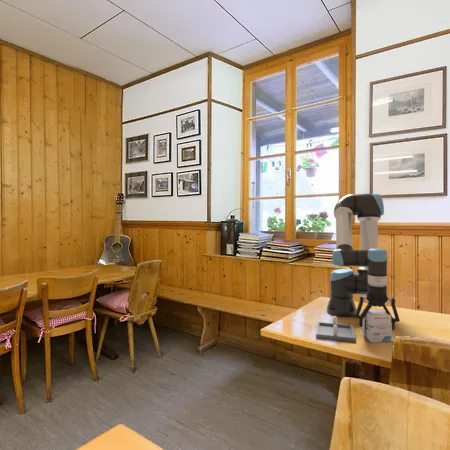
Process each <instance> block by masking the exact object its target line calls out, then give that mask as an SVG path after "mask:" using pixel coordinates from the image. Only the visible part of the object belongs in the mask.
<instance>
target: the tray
mask: <svg viewBox="0 0 450 450" xmlns="http://www.w3.org/2000/svg"><path fill="white" fill-rule="evenodd" d="M337 317H338V316H337V315H333V316H332V322H327V321H326V322H324V321H323V322H322V321H317V322H316V333H315V337H316V339H320V340H321V339H323V340H330V341H331V340H332V341H333V340H334V341H341V342H350V343H351V342H352V343H356V334H355V330H354V325H353V324H349V323H348V324H347V323H338V322H337V319H338V318H337Z"/></svg>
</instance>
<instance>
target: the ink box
mask: <svg viewBox="0 0 450 450" xmlns="http://www.w3.org/2000/svg"><path fill="white" fill-rule="evenodd" d="M390 314H391V313H390ZM390 314H387V313H386V311H385V310H384V309H381V308H378V309H377V308H373V309H372V308H370V309H369V311H368V312H367V314H366V315H365V317H364V318H363V319H364V320H365V330H364V335H363V337H365V338H366V339H367V340H368V341H369V342H370V343H391V342H392V338H391V315H392V314H391V315H390Z"/></svg>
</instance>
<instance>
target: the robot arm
mask: <svg viewBox="0 0 450 450" xmlns="http://www.w3.org/2000/svg"><path fill="white" fill-rule="evenodd" d="M384 206H385V205H384V200H383V197H382V195H381V194H379V193H352V194H351V193H350V194H347V195H345V196H343V197H342V198H340V199H339V200H338V201H337V203H336V204H335V206H334V208H333V216H334V218H335V243H336V244H335V246H336V247H335V249H332V252H331V253H332V254H331V255H332V257H331V261H332V262H331V263H332V265H334V266H341V267H344V266H347V267H351V266H352V267H358V268H357V269H356V270H357V272H356V271H355V272H354V269H351V268H340V269H334V270H332V271H331V273H330V278H329V281H330V285H329V286H330V297H329V300H328V302H327V303H328V304H327V306H326V312H327V313H328V314H330V315H333V316H336V317H353V316H354V317H355V318H356V319H357V320H359V324H358V325H359V327H360V328H361V334H362V336H364V330H365V320H364V319H363V318H364V317H365V315H366V314H367V312H368V311H369V309H372V307H379V308H380V307H382V308H383V311H385V312H386V313H387V314H390V315H391V339H392V337H393V331H395V327H396V326H395V323H396V322H398V323H399V322H401V320H400V317H399V313H398V309H397V307H396V299H395V298H394V296H393V297H388V294H387V293H388V286H387V284H388V259H389V257H388V251H387V250H386V249H385V248H379V238H378V237H379V235H378V234H379V232H378V231H379V229H378V226H379V225H378V224H379V223H378V222H379V221H380V220H381V217H382V216H384V214H385V207H384ZM353 216H356V217H357V218H356V219H357V220H358V221H359V222H360V223H359V224H360V225H359V226H360V227H359V228H360V229H359V233H360V234H359V235H360V236H359V237H360V239H359V242H360V244H359V245H360V249H354V248H353V247H354V246H353V232H352V231H353V230H352V218H353ZM354 295H359V302H358V304H357V306H356V303H355V301H354ZM365 301H368V302H367V304H366V306H365V308H364V309H363V310H362V308H363V305H364V302H365ZM387 302H389V303H390V305H391V309H392V311H393V315H394V317H393V316H392V314H391V312H390V311H389V309H388V307H387V306H386V303H387Z"/></svg>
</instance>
